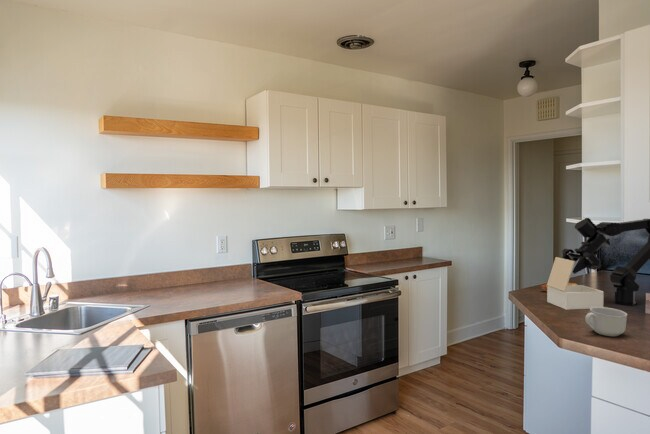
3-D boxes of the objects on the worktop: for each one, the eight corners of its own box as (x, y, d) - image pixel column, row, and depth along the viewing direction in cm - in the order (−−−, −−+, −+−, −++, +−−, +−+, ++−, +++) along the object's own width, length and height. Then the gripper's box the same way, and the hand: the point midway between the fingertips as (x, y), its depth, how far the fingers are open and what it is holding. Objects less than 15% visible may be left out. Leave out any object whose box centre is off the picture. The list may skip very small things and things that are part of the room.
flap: (556, 257, 199) (555, 256, 198) (574, 261, 186) (573, 260, 186) (547, 285, 199) (546, 284, 199) (565, 291, 186) (564, 290, 186)
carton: (582, 300, 201) (582, 285, 201) (604, 308, 186) (604, 291, 186) (546, 301, 200) (546, 286, 200) (566, 309, 185) (566, 292, 185)
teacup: (612, 328, 158) (612, 306, 158) (634, 338, 147) (635, 314, 147) (573, 329, 157) (573, 307, 157) (593, 339, 147) (593, 315, 146)
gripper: (620, 261, 184) (593, 288, 184) (590, 255, 202) (566, 280, 202) (601, 242, 183) (575, 269, 183) (573, 238, 202) (549, 263, 201)
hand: (566, 271), depth 192 cm, fingers open, 9 cm apart
